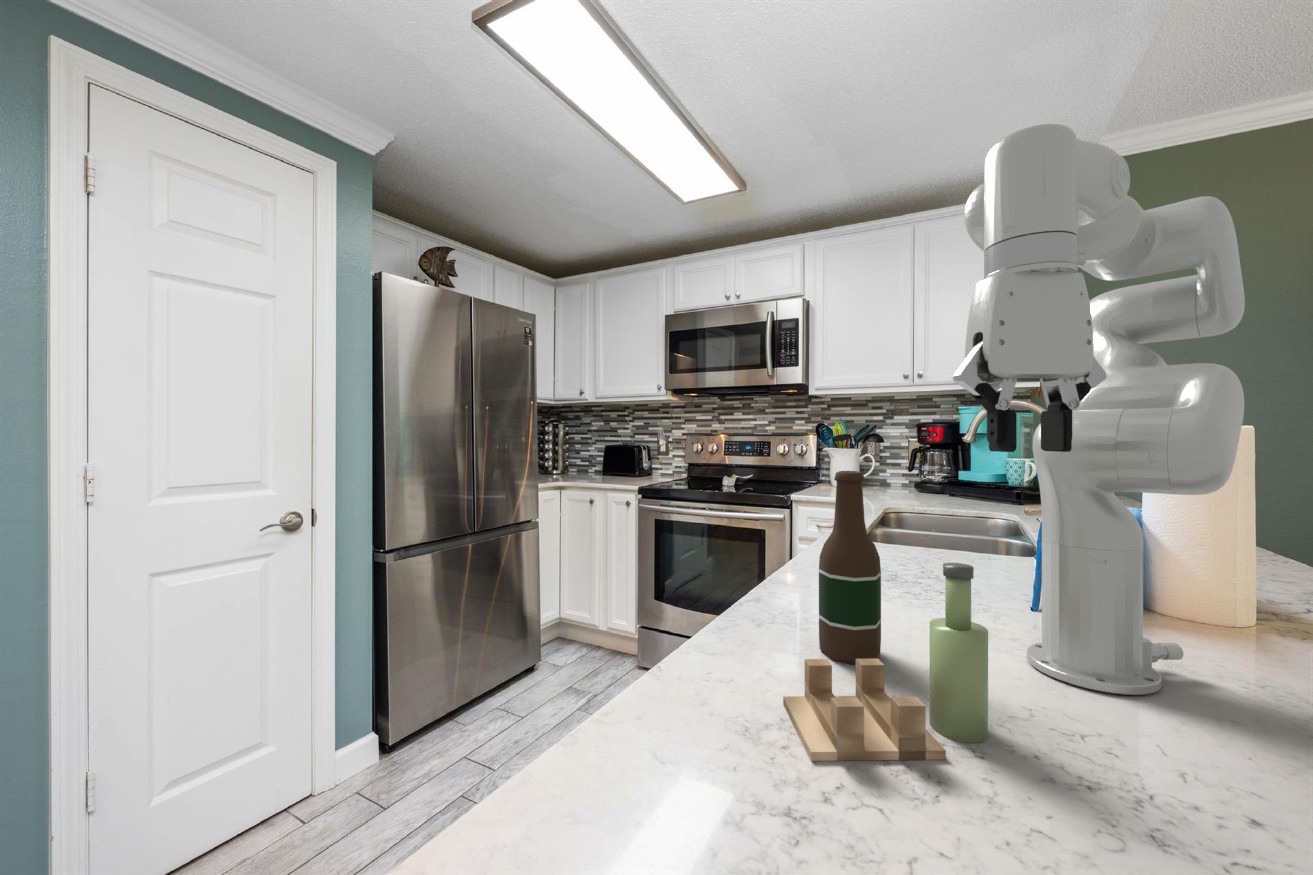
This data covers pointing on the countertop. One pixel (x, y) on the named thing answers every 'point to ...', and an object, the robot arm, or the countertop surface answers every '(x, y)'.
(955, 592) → the bottle
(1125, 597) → the robot arm
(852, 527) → the beer bottle
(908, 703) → the rest
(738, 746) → the countertop surface
